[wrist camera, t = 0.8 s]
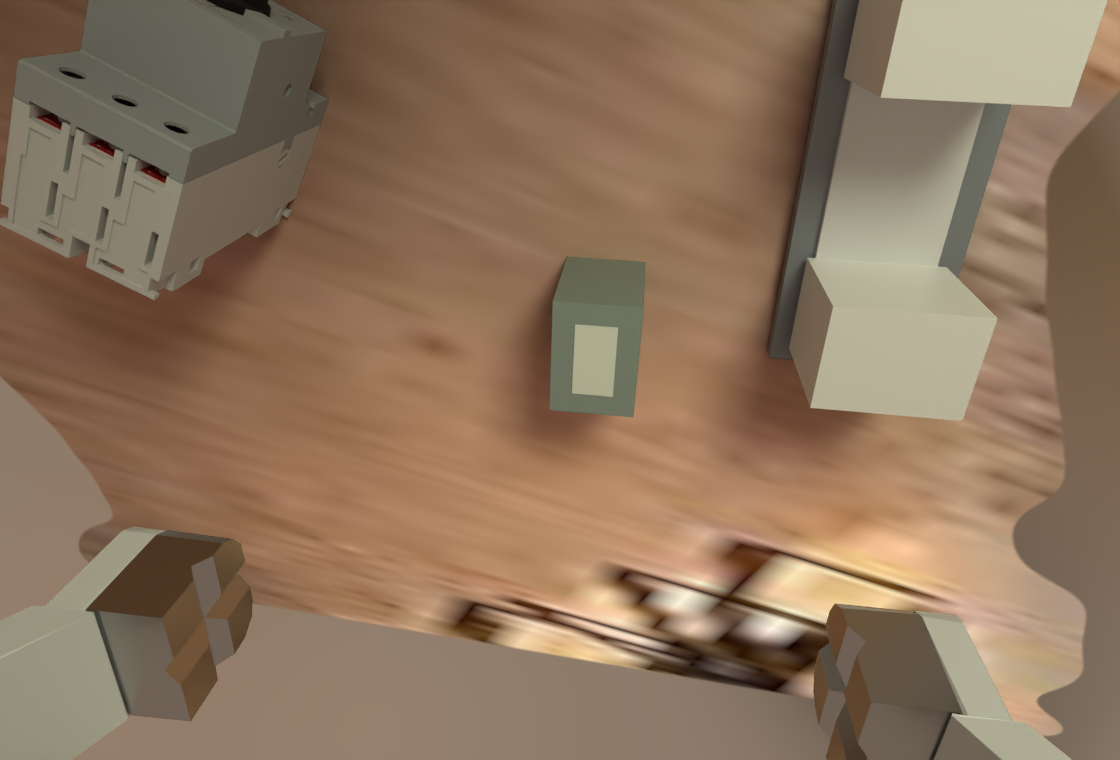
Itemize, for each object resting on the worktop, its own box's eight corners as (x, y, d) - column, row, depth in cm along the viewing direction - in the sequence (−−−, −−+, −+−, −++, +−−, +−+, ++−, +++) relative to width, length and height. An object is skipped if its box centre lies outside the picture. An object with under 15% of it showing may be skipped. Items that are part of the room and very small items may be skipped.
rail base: (847, -76, 37) (897, -90, 30) (1055, -70, 36) (1163, -82, 29) (767, 351, 49) (788, 421, 41) (924, 363, 48) (976, 438, 40)
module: (567, 256, 47) (552, 301, 41) (645, 262, 47) (643, 308, 40) (563, 354, 51) (549, 410, 44) (636, 360, 50) (633, 417, 44)
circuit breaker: (363, -3, 42) (227, 6, 28) (289, 216, 48) (152, 304, 35) (237, -75, 41) (37, -99, 27) (180, 159, 47) (-3, 228, 34)
